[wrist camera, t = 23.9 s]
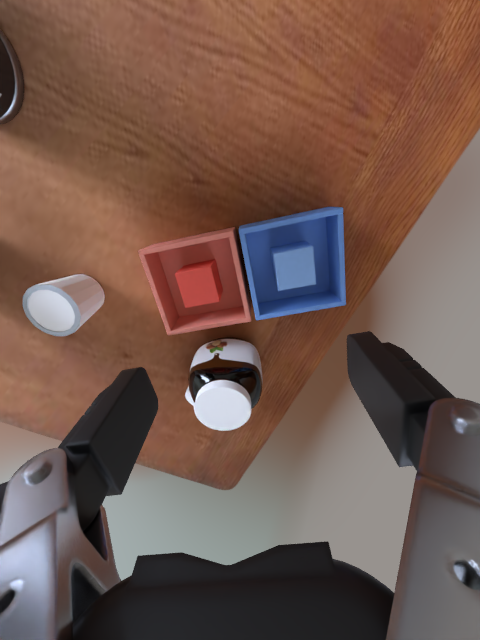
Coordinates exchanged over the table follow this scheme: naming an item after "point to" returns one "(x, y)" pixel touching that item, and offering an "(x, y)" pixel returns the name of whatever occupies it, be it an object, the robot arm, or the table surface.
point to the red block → (199, 283)
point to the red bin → (193, 249)
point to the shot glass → (63, 303)
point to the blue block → (293, 265)
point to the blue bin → (329, 261)
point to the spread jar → (225, 383)
